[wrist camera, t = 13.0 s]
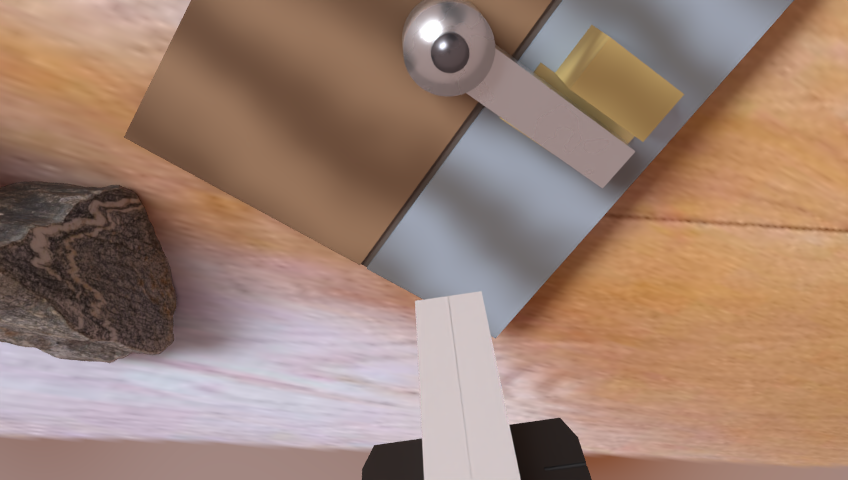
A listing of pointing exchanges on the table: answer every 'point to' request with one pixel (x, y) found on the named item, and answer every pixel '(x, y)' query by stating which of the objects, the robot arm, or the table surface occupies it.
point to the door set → (430, 126)
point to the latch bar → (505, 86)
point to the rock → (82, 273)
